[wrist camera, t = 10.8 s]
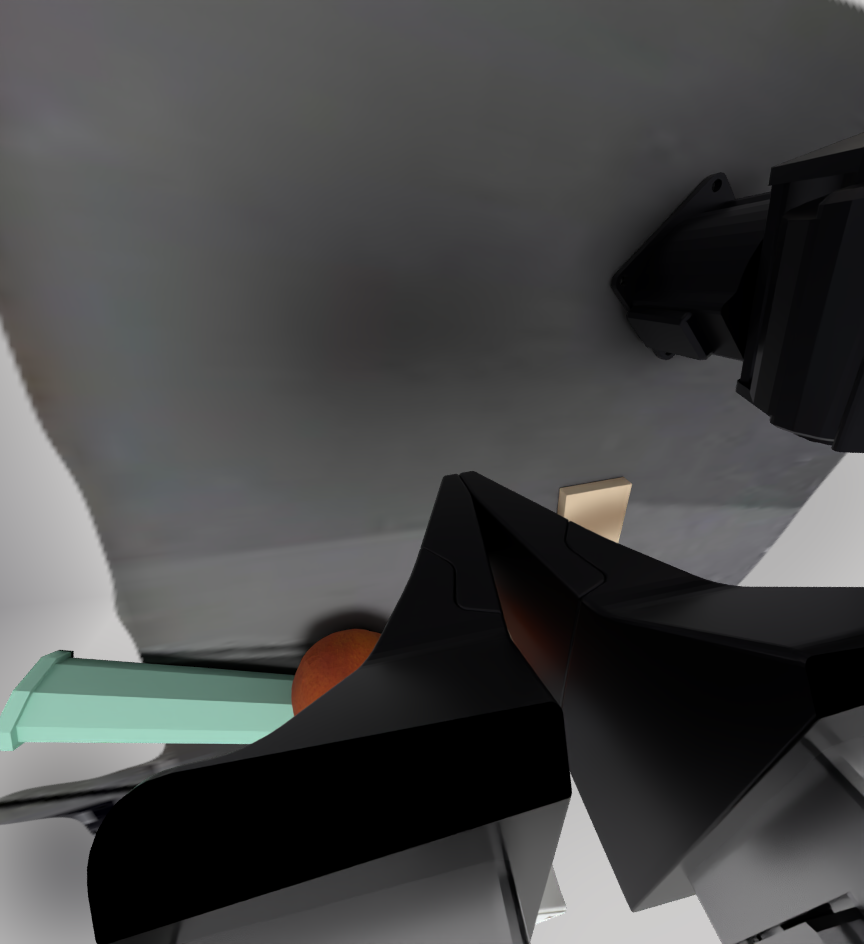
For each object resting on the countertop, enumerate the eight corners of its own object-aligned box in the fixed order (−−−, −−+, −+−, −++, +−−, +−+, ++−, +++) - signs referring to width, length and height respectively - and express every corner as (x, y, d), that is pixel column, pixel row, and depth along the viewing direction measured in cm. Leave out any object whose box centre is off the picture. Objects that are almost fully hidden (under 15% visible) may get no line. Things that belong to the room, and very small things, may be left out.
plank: (559, 488, 25) (566, 495, 24) (623, 477, 26) (631, 483, 25) (536, 712, 42) (539, 721, 41) (574, 703, 42) (578, 711, 41)
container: (379, 751, 28) (-27, 750, 20) (358, 751, 32) (14, 751, 24) (385, 670, 32) (46, 640, 24) (366, 679, 36) (71, 657, 28)
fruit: (411, 608, 29) (424, 709, 22) (393, 670, 33) (399, 772, 26) (303, 605, 27) (279, 716, 20) (297, 672, 31) (276, 784, 24)
